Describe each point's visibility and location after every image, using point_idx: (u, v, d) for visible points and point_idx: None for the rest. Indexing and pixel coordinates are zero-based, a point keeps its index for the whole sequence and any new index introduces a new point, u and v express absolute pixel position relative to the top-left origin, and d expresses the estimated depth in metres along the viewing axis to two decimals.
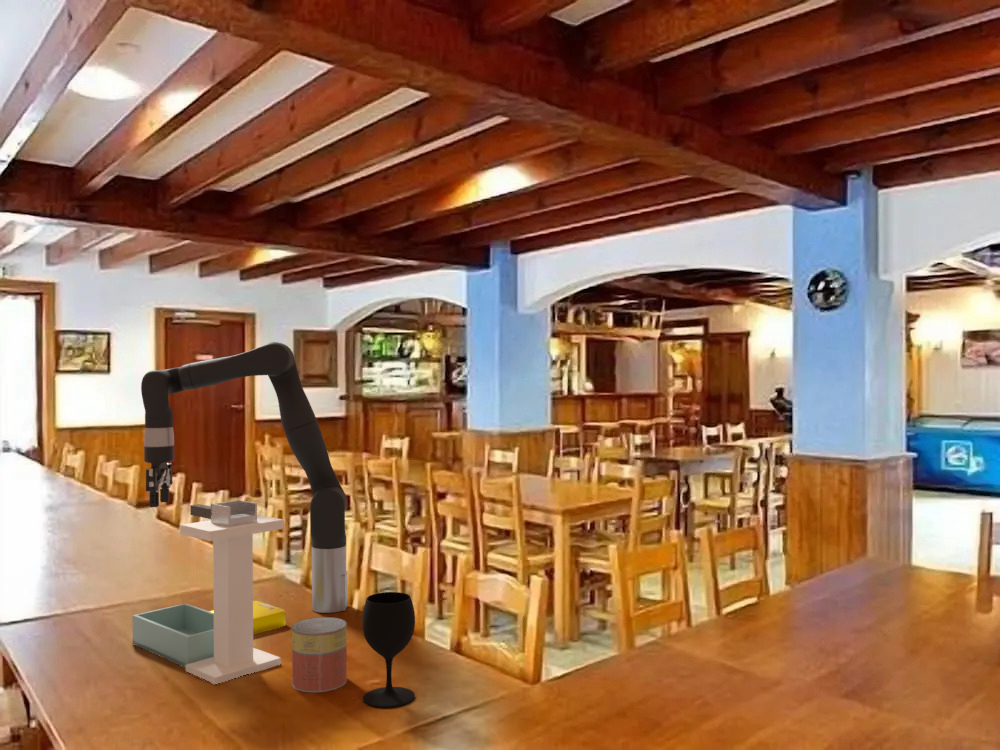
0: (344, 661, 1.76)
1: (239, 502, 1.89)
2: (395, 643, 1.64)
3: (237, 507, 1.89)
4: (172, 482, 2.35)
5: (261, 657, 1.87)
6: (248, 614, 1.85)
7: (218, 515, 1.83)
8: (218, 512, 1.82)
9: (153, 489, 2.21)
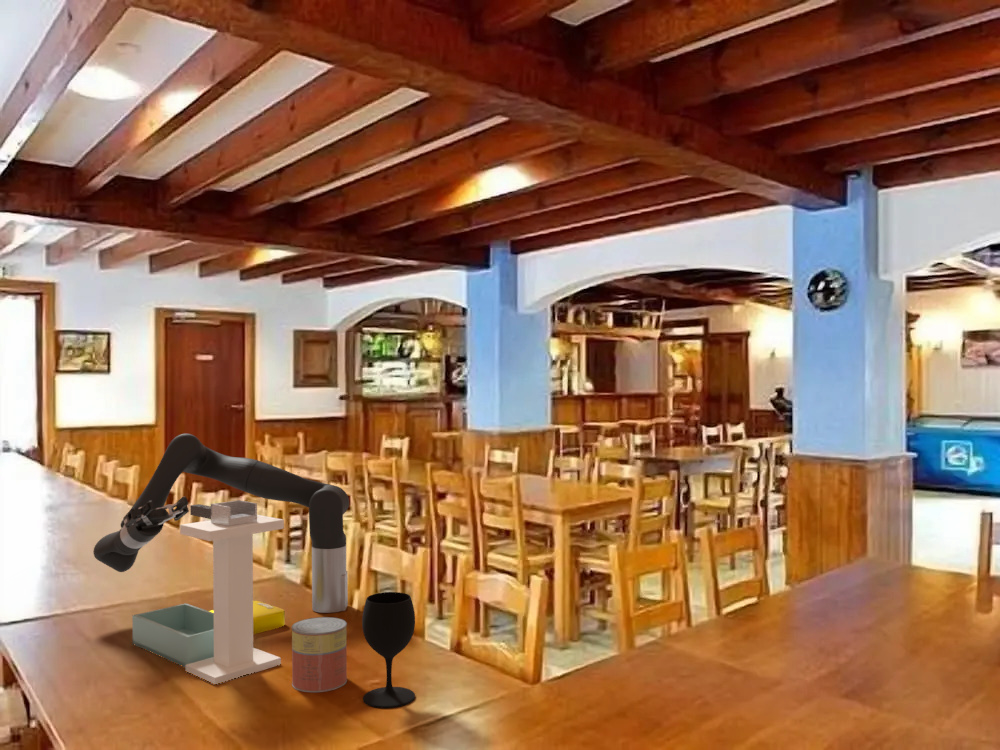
0: (344, 661, 1.76)
1: (239, 502, 1.89)
2: (395, 643, 1.64)
3: (237, 507, 1.89)
4: None
5: (261, 657, 1.87)
6: (248, 614, 1.85)
7: (218, 515, 1.83)
8: (218, 512, 1.82)
9: (130, 511, 2.01)
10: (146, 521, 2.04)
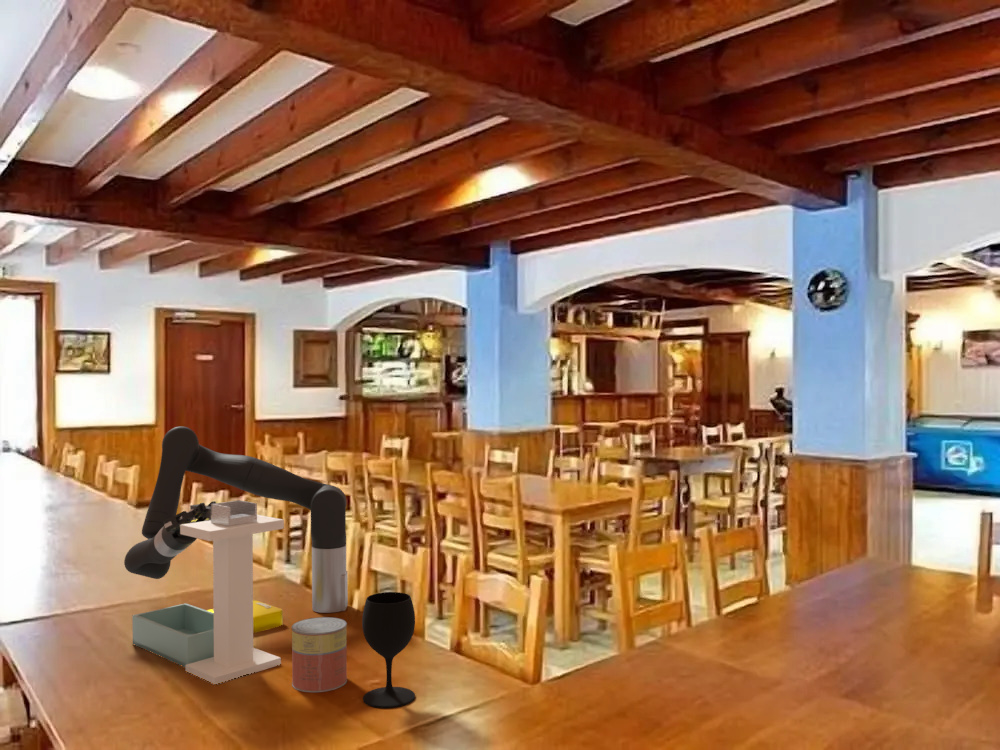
0: (344, 661, 1.76)
1: (239, 502, 1.89)
2: (395, 643, 1.64)
3: (237, 507, 1.89)
4: None
5: (261, 657, 1.87)
6: (248, 614, 1.85)
7: (217, 515, 1.83)
8: (218, 513, 1.82)
9: (181, 514, 1.91)
10: None
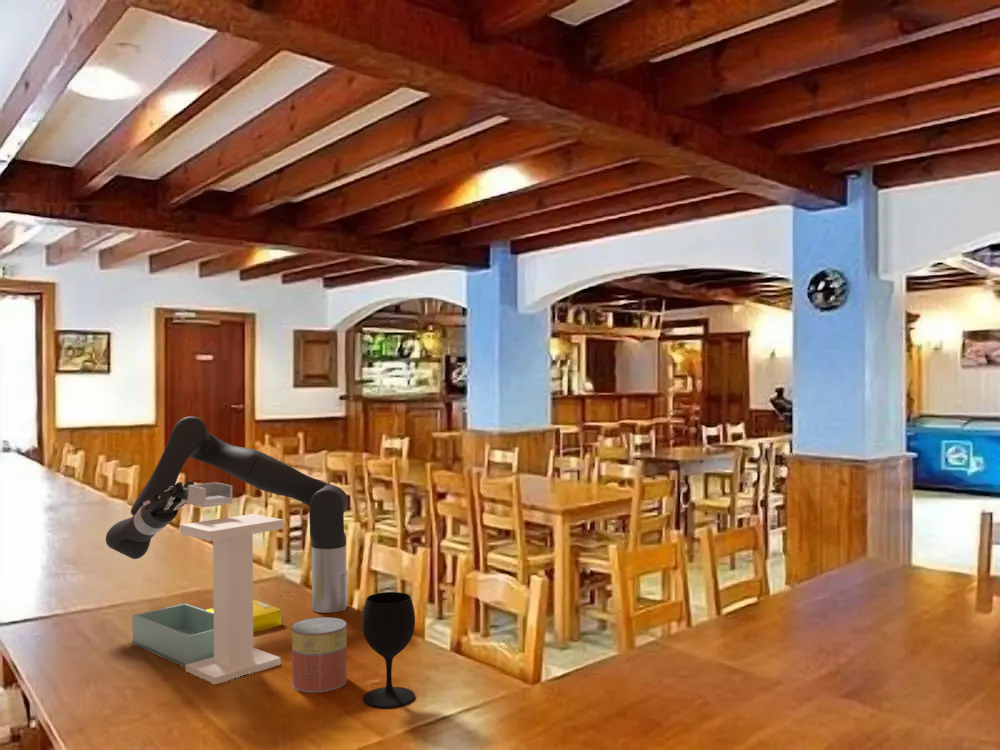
0: (344, 661, 1.76)
1: (215, 484, 1.95)
2: (395, 643, 1.64)
3: (213, 489, 1.95)
4: None
5: (261, 657, 1.87)
6: (248, 614, 1.85)
7: (194, 496, 1.89)
8: (194, 494, 1.89)
9: (159, 493, 1.98)
10: (168, 504, 2.00)
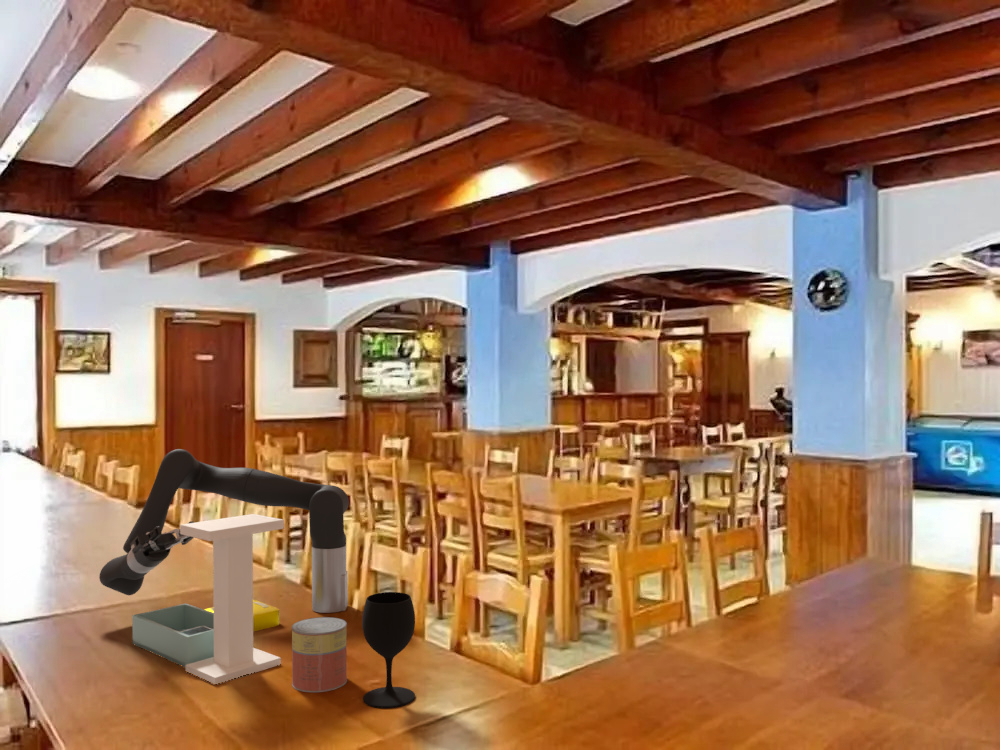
0: (344, 661, 1.76)
1: (203, 628, 1.99)
2: (395, 643, 1.64)
3: None
4: None
5: (261, 657, 1.87)
6: (248, 614, 1.85)
7: None
8: None
9: (138, 537, 1.99)
10: (153, 546, 2.02)
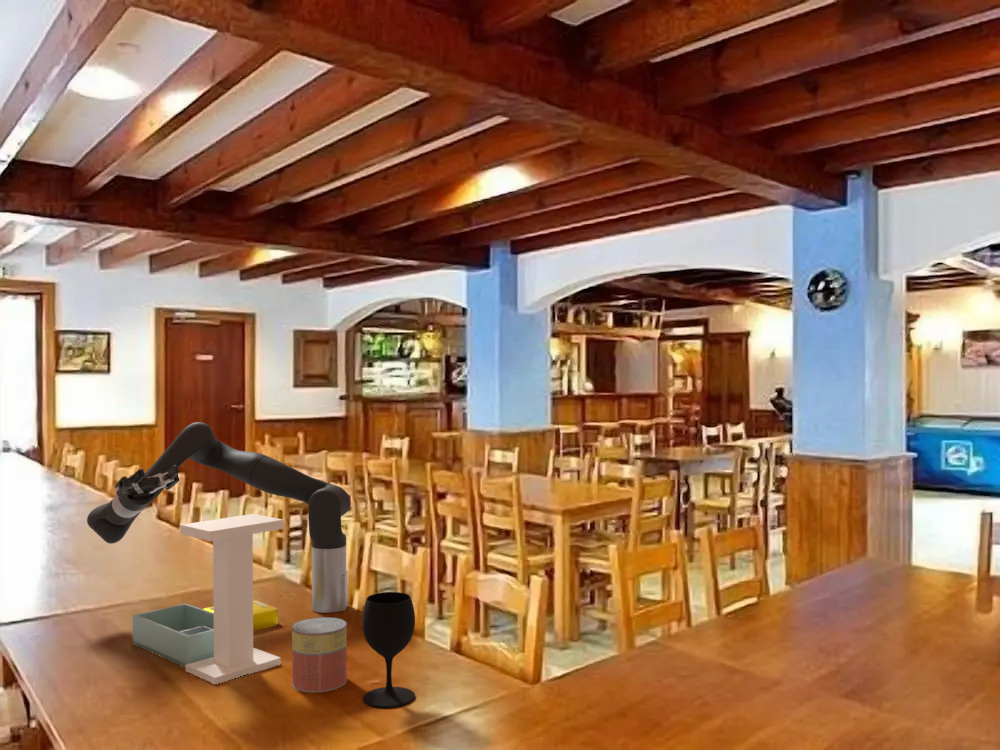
0: (344, 661, 1.76)
1: (203, 628, 1.99)
2: (395, 643, 1.64)
3: None
4: None
5: (261, 657, 1.87)
6: (248, 614, 1.85)
7: None
8: None
9: (122, 479, 2.04)
10: (137, 489, 2.07)
